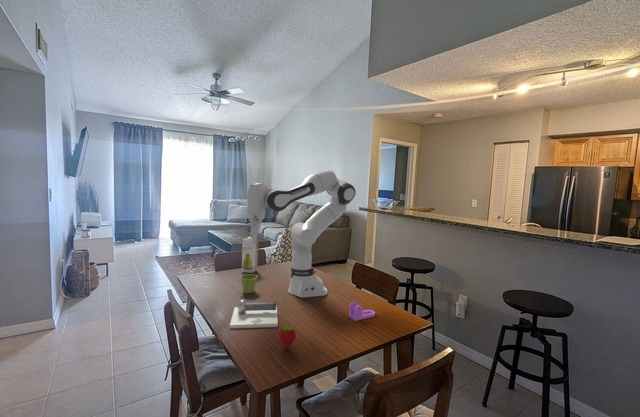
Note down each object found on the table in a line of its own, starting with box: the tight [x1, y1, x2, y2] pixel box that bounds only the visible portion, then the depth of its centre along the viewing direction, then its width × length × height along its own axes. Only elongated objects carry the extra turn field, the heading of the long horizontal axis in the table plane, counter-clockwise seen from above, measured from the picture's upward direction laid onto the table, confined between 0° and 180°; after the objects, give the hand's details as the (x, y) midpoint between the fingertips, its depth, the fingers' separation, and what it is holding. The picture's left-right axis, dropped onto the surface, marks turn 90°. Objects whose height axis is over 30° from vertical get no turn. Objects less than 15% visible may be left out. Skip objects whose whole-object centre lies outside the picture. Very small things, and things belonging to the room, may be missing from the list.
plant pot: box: [240, 273, 259, 294], centre depth 168 cm, size 9×9×9 cm
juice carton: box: [241, 236, 259, 274], centre depth 203 cm, size 9×8×24 cm
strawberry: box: [278, 322, 297, 350], centre depth 113 cm, size 6×8×10 cm
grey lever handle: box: [237, 298, 277, 314], centre depth 138 cm, size 17×4×6 cm, turn 99°
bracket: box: [348, 301, 376, 322], centre depth 144 cm, size 13×6×7 cm, turn 119°
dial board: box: [229, 305, 279, 329], centre depth 136 cm, size 20×18×2 cm
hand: (255, 241), depth 153 cm, fingers open, 8 cm apart
